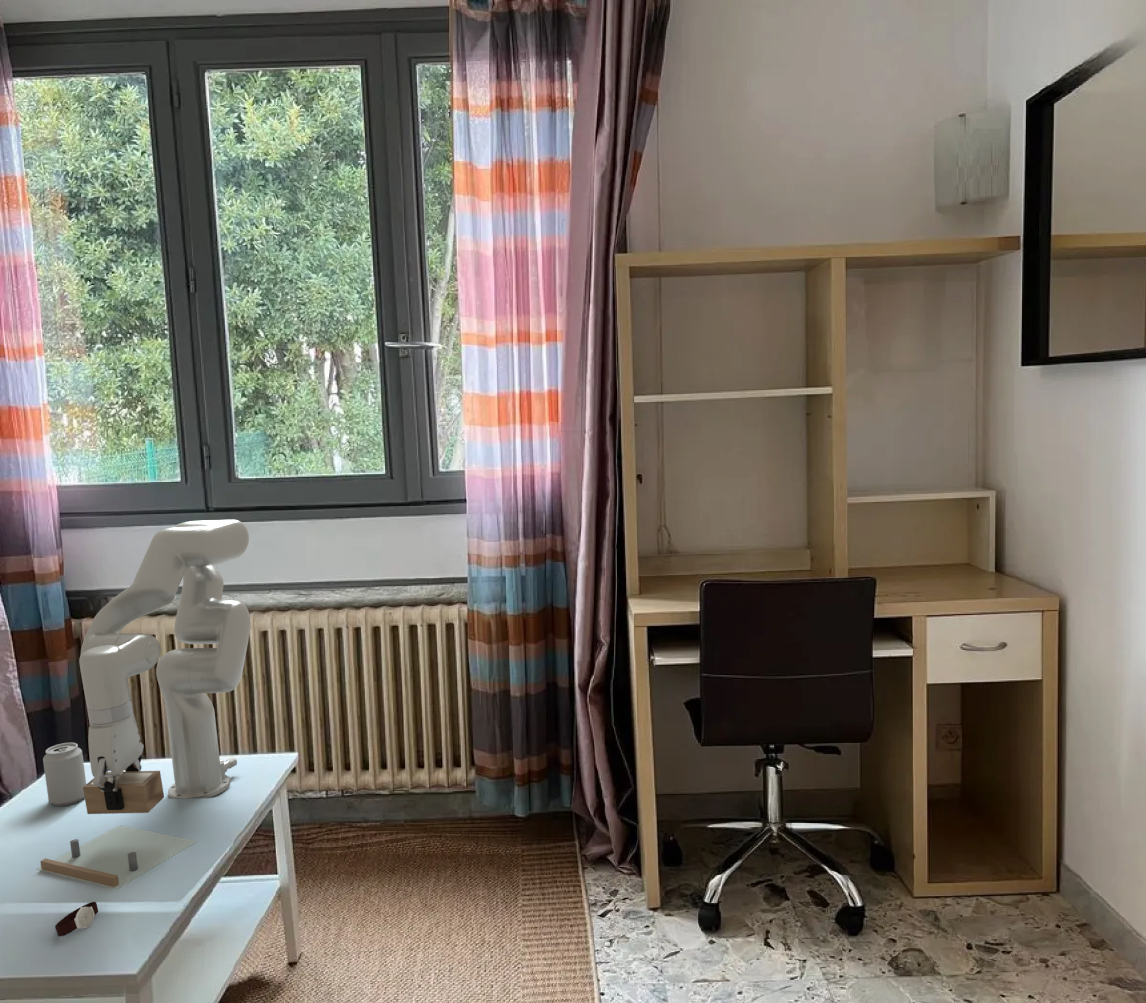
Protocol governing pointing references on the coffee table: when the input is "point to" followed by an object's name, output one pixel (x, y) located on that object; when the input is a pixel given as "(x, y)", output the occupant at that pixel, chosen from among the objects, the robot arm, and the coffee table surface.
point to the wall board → (115, 856)
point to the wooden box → (128, 793)
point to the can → (64, 774)
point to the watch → (77, 919)
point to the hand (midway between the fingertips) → (125, 799)
